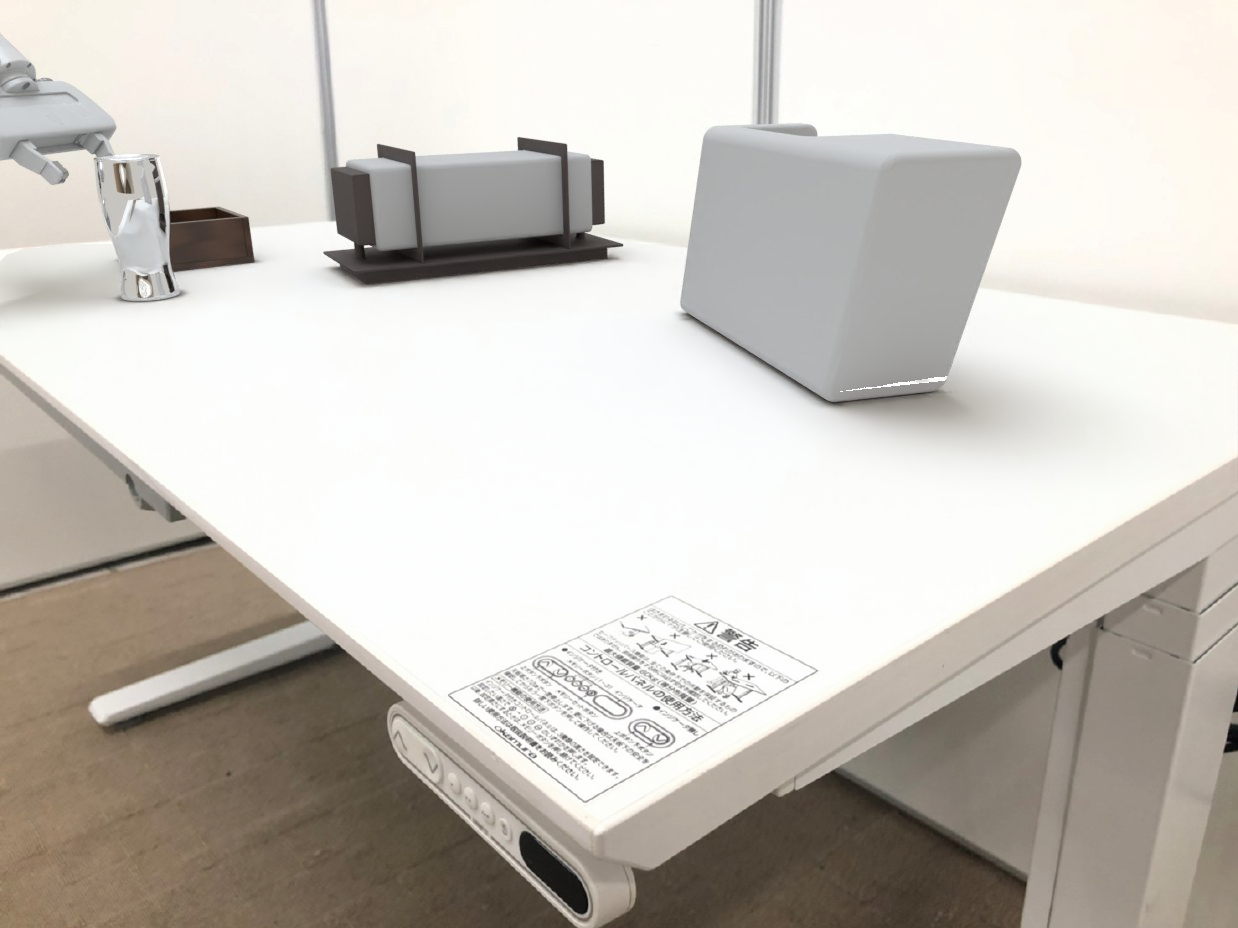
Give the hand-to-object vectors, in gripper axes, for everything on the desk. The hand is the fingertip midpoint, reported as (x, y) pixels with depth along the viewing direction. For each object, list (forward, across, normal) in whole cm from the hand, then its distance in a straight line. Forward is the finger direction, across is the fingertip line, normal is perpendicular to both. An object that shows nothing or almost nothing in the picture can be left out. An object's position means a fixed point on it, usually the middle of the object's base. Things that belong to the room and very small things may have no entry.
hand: (90, 175), depth 114 cm
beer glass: (+13, 0, -6) cm, 14 cm away
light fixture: (+34, -23, +15) cm, 44 cm away
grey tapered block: (+64, +16, +45) cm, 80 cm away
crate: (+7, -21, -12) cm, 25 cm away
